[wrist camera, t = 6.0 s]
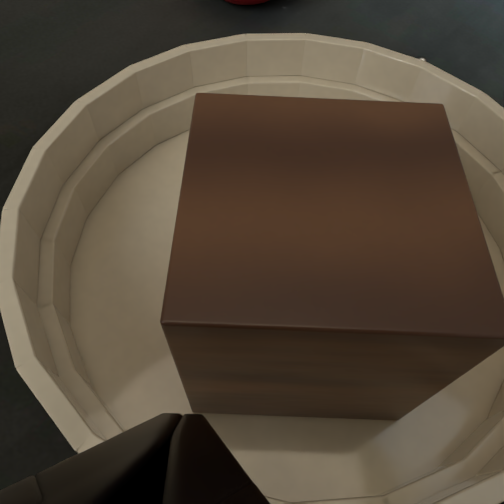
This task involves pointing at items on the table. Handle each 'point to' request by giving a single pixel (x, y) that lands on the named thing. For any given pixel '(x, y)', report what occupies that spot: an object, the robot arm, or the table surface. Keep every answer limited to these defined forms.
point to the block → (325, 259)
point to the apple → (246, 2)
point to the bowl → (157, 262)
